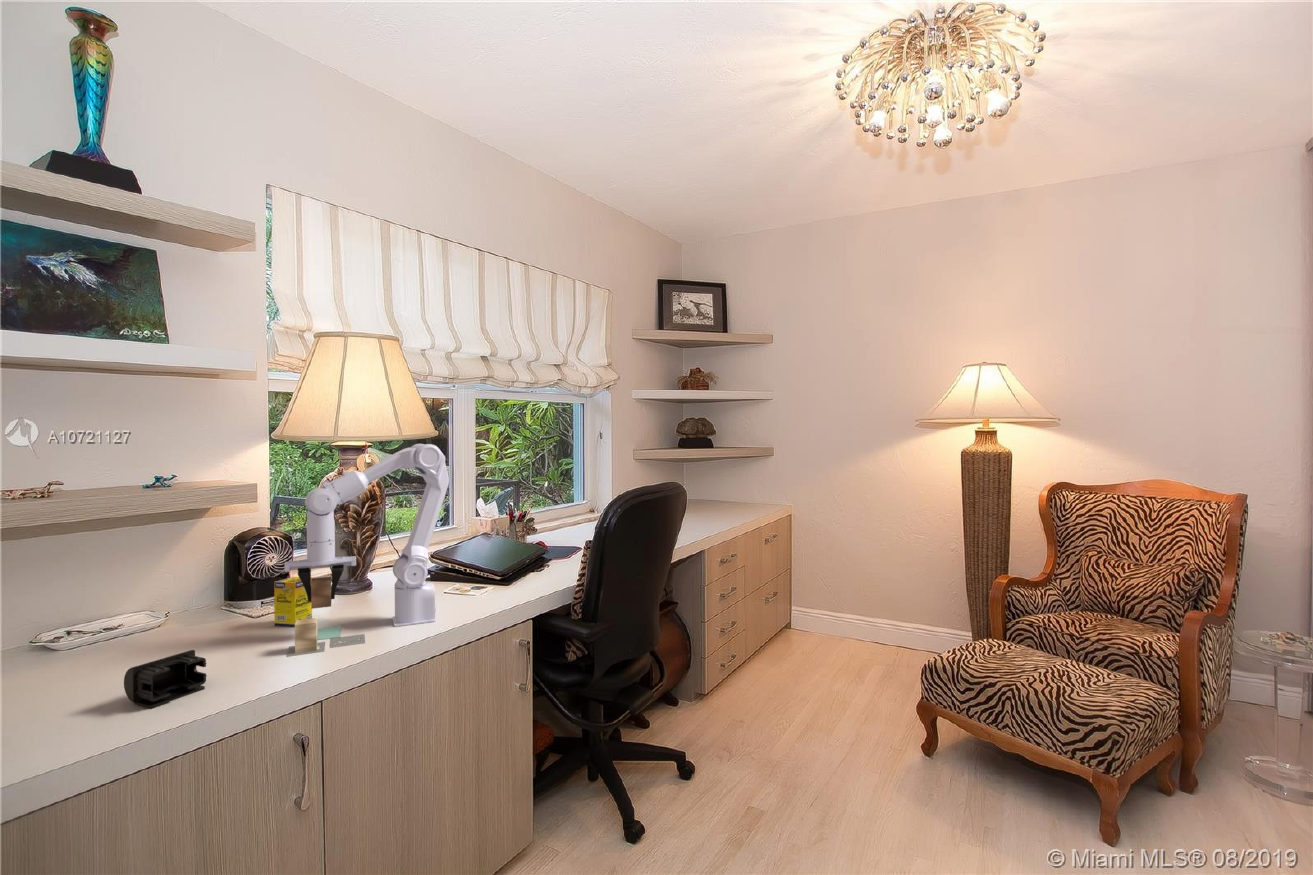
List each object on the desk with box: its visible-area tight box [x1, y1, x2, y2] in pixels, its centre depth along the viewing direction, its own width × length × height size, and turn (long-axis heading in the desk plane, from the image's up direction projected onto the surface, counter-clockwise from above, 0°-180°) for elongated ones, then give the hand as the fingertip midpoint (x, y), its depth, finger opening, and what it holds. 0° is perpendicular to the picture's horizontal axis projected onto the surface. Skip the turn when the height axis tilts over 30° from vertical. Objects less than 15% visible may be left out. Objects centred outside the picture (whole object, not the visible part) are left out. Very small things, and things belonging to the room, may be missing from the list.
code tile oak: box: [286, 641, 326, 658], centre depth 137 cm, size 7×7×1 cm
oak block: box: [294, 617, 318, 653], centre depth 137 cm, size 4×4×6 cm
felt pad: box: [317, 625, 342, 641], centre depth 147 cm, size 9×9×1 cm
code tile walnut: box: [329, 633, 366, 649], centre depth 143 cm, size 7×7×1 cm
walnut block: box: [311, 576, 332, 610], centre depth 146 cm, size 4×4×6 cm
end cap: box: [123, 649, 208, 710], centre depth 114 cm, size 10×7×7 cm
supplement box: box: [273, 576, 313, 628], centre depth 156 cm, size 6×6×11 cm
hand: (321, 599), depth 147 cm, fingers closed on walnut block, 4 cm apart
